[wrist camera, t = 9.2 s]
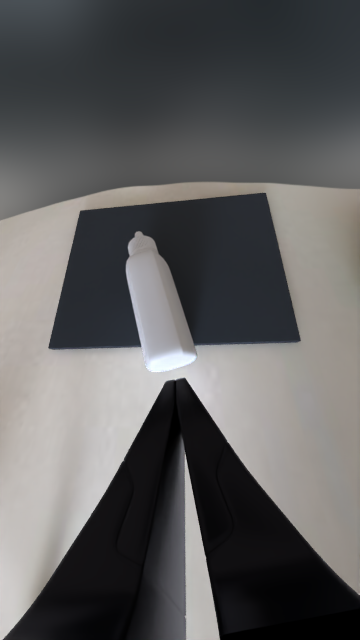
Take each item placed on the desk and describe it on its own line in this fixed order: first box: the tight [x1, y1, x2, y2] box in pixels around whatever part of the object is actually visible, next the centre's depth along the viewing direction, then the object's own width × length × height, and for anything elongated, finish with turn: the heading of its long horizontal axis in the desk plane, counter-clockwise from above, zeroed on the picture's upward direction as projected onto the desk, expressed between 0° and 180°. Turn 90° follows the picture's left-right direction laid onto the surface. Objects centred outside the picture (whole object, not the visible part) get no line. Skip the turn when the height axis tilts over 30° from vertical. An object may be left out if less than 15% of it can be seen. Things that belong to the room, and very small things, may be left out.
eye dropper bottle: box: [126, 231, 197, 372], centre depth 14 cm, size 4×6×12 cm
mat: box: [49, 193, 301, 349], centre depth 19 cm, size 17×22×1 cm
